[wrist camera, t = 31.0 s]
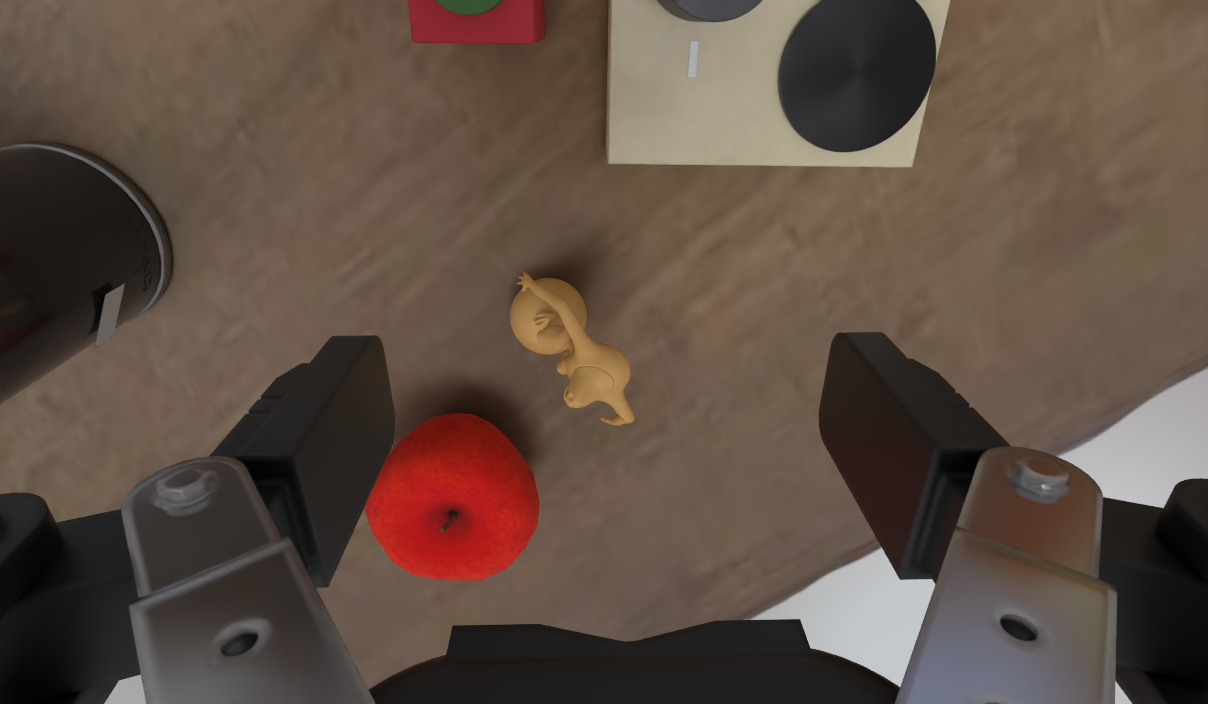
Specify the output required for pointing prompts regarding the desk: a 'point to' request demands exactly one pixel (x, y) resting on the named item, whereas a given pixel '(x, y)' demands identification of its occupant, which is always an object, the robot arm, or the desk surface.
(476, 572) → the apple
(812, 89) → the burner
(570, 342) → the figurine
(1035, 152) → the desk surface
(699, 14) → the hob knob
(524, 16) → the red block green button
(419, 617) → the desk surface
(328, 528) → the robot arm
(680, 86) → the hob
